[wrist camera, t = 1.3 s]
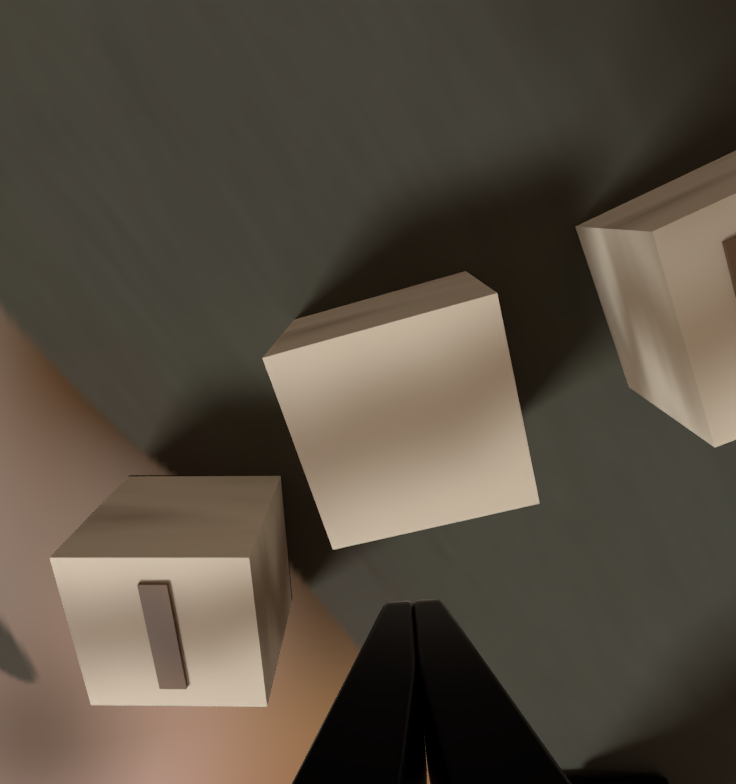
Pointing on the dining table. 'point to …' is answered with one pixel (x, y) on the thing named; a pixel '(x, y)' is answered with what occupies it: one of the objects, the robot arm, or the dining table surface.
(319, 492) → the plain block
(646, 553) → the dining table surface
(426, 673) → the robot arm
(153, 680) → the one-stroke block
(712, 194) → the block
